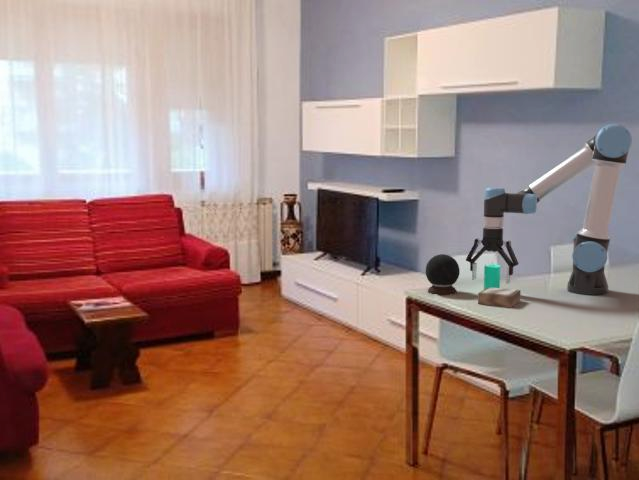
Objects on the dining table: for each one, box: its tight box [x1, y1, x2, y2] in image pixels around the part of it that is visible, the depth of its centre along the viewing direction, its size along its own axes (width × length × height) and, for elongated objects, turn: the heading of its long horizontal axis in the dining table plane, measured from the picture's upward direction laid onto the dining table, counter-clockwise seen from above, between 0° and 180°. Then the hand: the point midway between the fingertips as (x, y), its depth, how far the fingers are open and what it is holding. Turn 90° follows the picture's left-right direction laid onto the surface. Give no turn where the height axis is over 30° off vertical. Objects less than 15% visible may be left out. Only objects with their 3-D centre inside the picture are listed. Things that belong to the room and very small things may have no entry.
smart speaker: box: [425, 253, 460, 296], centre depth 281 cm, size 13×13×15 cm
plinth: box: [477, 287, 521, 309], centre depth 263 cm, size 12×12×4 cm
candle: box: [483, 262, 501, 290], centre depth 281 cm, size 6×6×12 cm
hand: (490, 281), depth 281 cm, fingers open, 13 cm apart
